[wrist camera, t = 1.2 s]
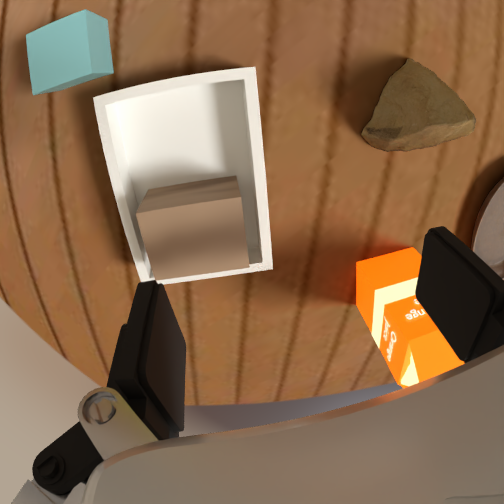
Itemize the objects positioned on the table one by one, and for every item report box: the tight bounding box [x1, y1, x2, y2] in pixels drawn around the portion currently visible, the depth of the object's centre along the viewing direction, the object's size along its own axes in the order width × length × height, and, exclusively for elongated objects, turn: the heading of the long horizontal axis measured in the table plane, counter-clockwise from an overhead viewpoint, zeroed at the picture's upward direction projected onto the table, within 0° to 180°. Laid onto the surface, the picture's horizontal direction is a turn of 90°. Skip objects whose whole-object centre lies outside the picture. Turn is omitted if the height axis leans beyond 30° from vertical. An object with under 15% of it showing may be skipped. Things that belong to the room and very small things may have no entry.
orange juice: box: [356, 247, 465, 388], centre depth 33 cm, size 8×9×20 cm
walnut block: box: [136, 176, 250, 281], centre depth 30 cm, size 7×9×6 cm
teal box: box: [26, 9, 114, 95], centre depth 21 cm, size 6×6×6 cm
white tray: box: [93, 67, 273, 284], centre depth 30 cm, size 20×14×4 cm
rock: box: [361, 59, 476, 152], centre depth 26 cm, size 11×9×10 cm
